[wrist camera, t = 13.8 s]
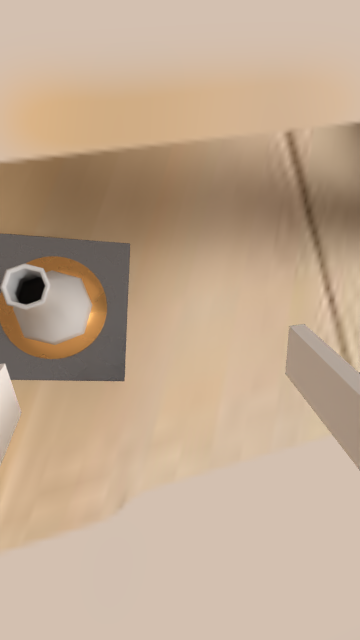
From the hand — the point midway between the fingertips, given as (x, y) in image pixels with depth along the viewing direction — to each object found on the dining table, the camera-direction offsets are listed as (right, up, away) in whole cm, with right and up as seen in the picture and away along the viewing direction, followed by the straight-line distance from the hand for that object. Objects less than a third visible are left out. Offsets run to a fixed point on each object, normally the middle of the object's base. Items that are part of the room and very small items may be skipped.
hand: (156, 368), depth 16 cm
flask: (-11, +3, +17) cm, 21 cm away
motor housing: (-16, +3, +23) cm, 29 cm away
